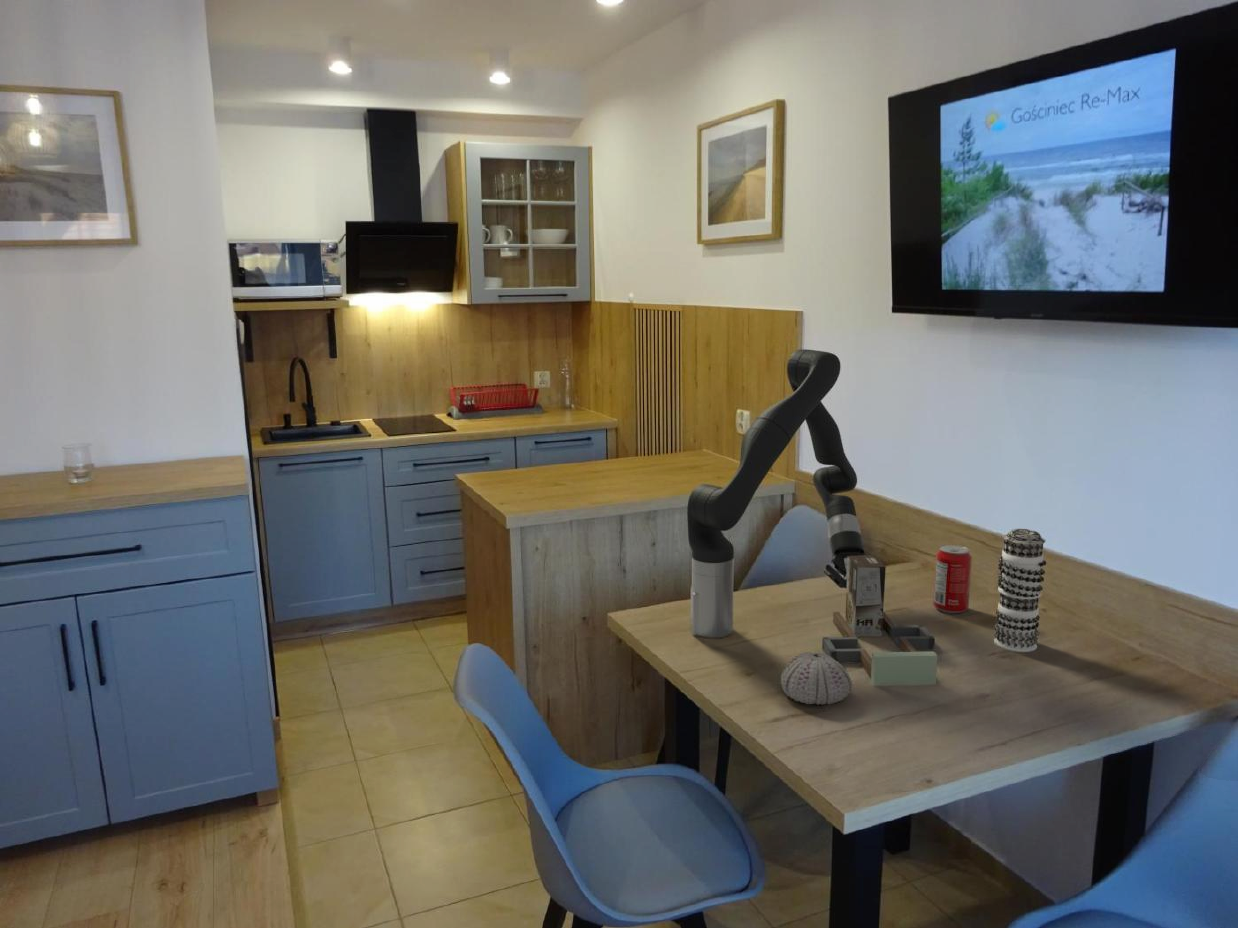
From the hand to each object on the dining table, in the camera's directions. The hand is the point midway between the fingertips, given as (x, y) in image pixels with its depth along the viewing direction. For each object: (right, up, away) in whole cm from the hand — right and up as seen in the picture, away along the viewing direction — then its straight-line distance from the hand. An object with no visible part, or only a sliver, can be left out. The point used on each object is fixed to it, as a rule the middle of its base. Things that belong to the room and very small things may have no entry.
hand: (857, 602), depth 203 cm
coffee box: (0, -5, -5) cm, 7 cm away
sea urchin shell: (-18, -12, -36) cm, 41 cm away
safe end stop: (0, -11, -32) cm, 33 cm away
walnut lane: (0, -7, -16) cm, 18 cm away
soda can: (+24, -3, +7) cm, 25 cm away
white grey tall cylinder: (+30, -7, -14) cm, 34 cm away
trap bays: (0, -7, -16) cm, 18 cm away
